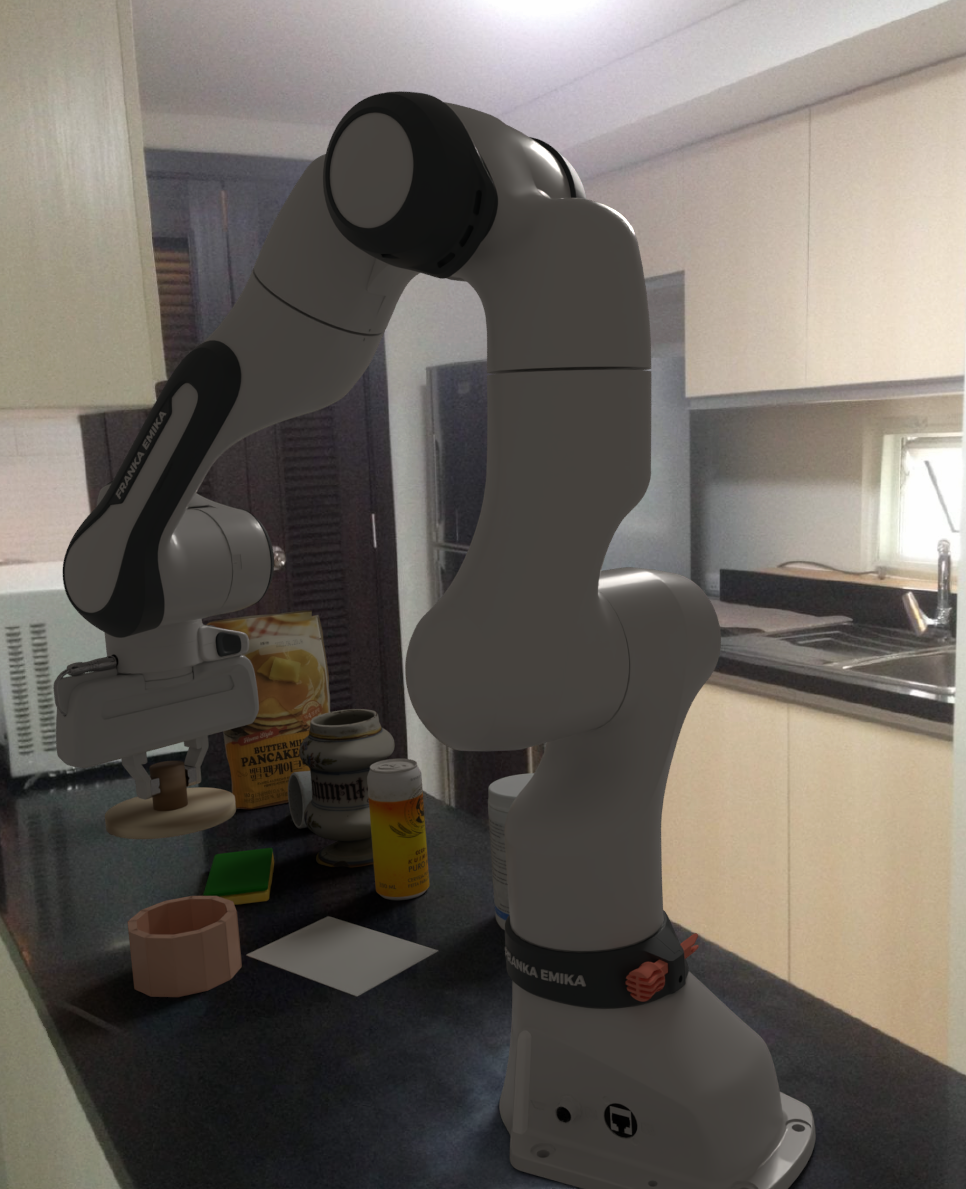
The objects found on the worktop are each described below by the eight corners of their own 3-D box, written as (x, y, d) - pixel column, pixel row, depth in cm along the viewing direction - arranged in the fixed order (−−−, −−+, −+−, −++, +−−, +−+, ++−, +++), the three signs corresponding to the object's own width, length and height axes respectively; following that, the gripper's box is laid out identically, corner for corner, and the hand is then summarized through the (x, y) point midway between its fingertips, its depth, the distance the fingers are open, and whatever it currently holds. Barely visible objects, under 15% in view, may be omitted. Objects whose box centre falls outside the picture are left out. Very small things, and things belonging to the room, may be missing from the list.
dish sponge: (204, 915, 121) (202, 894, 121) (216, 872, 135) (214, 853, 135) (269, 907, 122) (267, 886, 122) (274, 865, 136) (272, 846, 136)
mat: (438, 954, 106) (438, 950, 106) (357, 1000, 98) (357, 996, 98) (328, 919, 117) (328, 916, 117) (246, 958, 108) (246, 954, 108)
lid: (261, 810, 104) (256, 757, 104) (153, 847, 95) (147, 790, 95) (188, 792, 112) (183, 743, 111) (81, 826, 103) (75, 772, 102)
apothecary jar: (295, 874, 131) (282, 729, 129) (323, 840, 143) (312, 706, 141) (392, 873, 129) (381, 725, 127) (412, 839, 141) (402, 703, 139)
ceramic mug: (362, 822, 149) (357, 768, 149) (305, 835, 146) (299, 779, 145) (336, 805, 159) (331, 754, 158) (281, 817, 155) (277, 764, 154)
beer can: (422, 905, 119) (412, 772, 117) (369, 904, 120) (359, 772, 119) (435, 884, 125) (426, 757, 123) (385, 883, 126) (375, 757, 124)
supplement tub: (581, 943, 107) (573, 798, 105) (487, 940, 109) (477, 798, 107) (591, 904, 116) (584, 770, 115) (504, 902, 118) (496, 771, 117)
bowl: (262, 967, 106) (256, 908, 105) (174, 1010, 98) (167, 947, 98) (200, 944, 112) (195, 888, 112) (113, 982, 105) (107, 923, 104)
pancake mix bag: (213, 805, 162) (195, 620, 159) (332, 781, 171) (318, 606, 168) (225, 816, 156) (207, 624, 153) (348, 790, 165) (333, 609, 162)
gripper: (70, 669, 92) (87, 827, 93) (262, 632, 107) (273, 768, 109) (33, 664, 96) (50, 816, 97) (223, 630, 111) (235, 761, 113)
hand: (169, 790), depth 103 cm, fingers closed on lid, 3 cm apart
